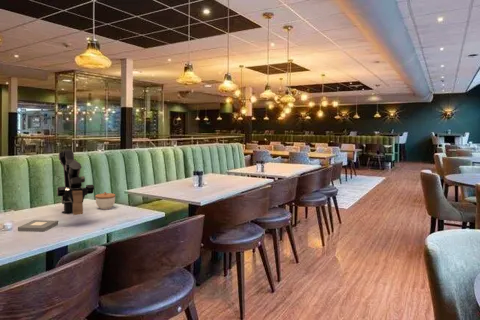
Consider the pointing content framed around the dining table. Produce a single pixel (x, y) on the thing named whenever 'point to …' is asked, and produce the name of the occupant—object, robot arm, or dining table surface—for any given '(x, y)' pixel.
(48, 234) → the dining table surface
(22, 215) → the dining table surface
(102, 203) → the lidded bowl
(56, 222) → the foundation slab
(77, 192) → the walnut pillar
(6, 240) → the dining table surface
